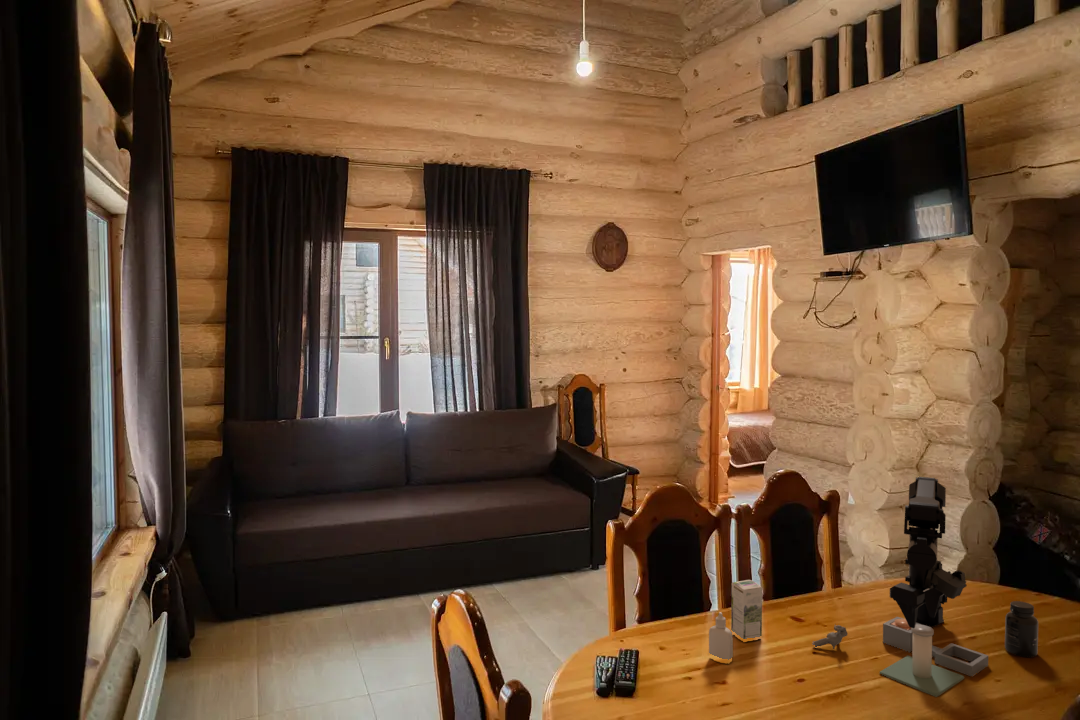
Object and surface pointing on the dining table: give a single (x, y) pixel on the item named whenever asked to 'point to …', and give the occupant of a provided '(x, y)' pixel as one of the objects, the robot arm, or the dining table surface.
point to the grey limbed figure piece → (832, 637)
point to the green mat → (932, 685)
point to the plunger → (901, 624)
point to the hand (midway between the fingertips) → (922, 622)
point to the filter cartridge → (922, 651)
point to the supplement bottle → (1021, 630)
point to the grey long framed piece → (937, 650)
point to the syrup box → (746, 609)
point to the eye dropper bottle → (721, 639)
